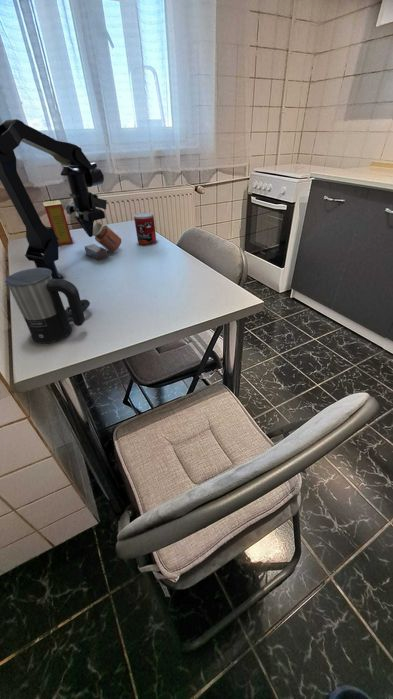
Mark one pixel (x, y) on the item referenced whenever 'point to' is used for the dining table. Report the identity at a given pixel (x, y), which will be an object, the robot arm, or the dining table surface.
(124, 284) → the dining table surface
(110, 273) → the dining table surface
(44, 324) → the milk frother
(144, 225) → the canned food
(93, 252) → the walnut block
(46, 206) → the baking soda box
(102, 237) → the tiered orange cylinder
